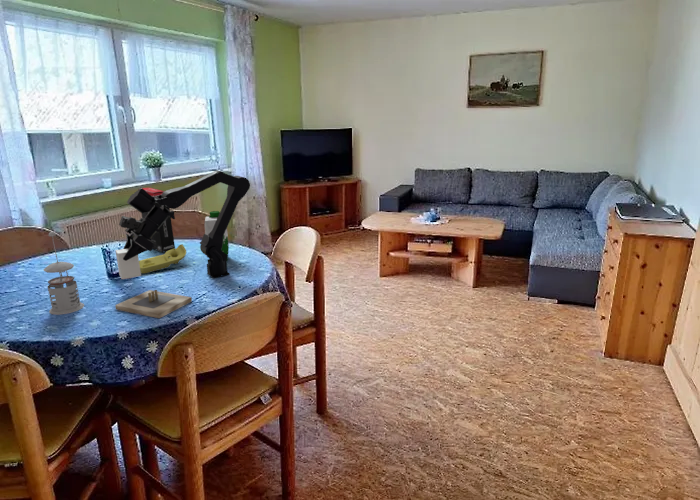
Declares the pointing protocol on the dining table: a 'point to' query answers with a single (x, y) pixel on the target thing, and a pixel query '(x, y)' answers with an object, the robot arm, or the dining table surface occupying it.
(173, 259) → the plastic component
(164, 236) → the graphics card box
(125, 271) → the block
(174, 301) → the board
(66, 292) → the french press
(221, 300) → the dining table surface
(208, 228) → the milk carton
